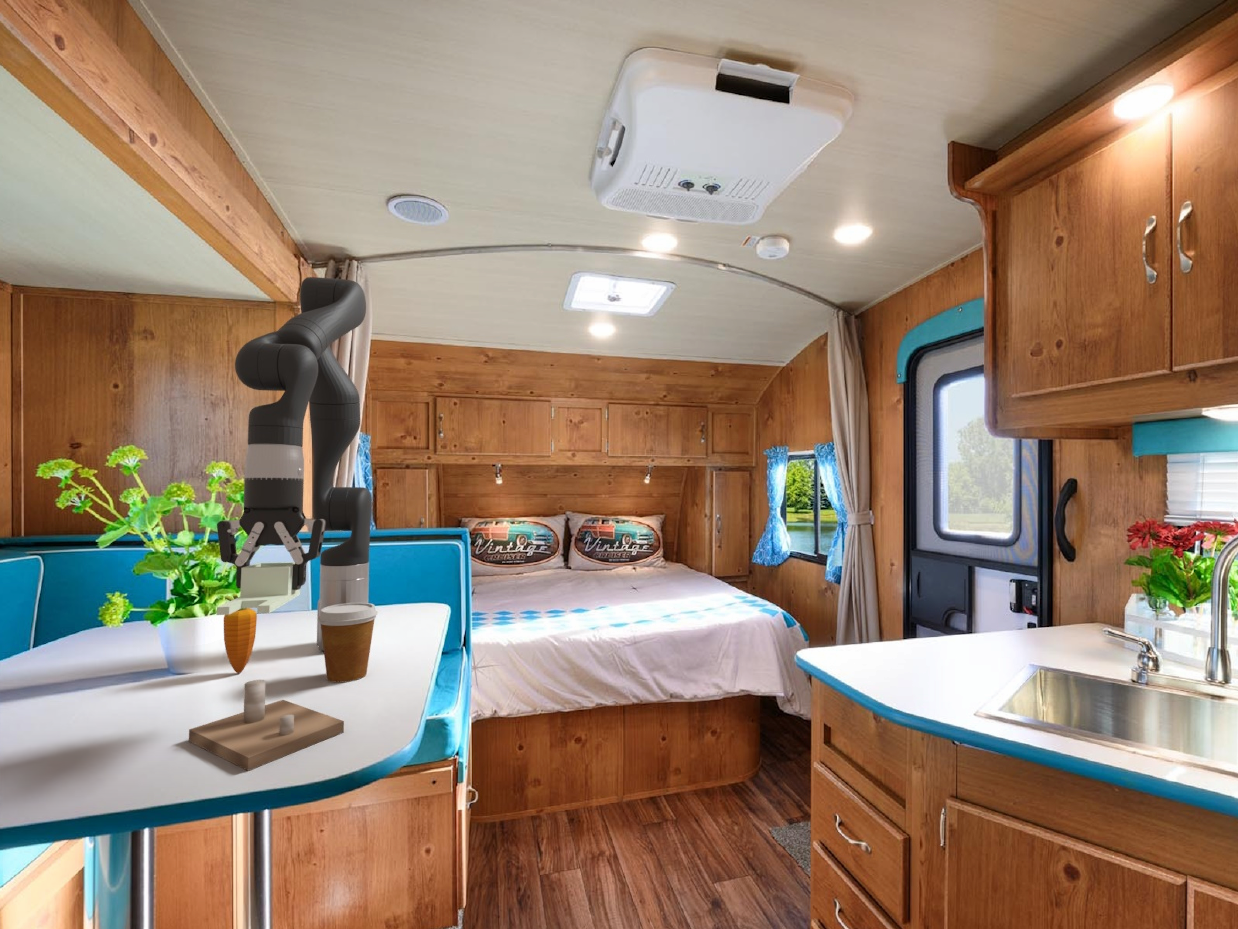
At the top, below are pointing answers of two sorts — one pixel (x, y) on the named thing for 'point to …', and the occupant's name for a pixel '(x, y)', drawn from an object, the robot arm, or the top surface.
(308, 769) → the top surface
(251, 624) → the carrot
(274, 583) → the hollow square block
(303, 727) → the post base
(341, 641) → the disposable coffee cup
